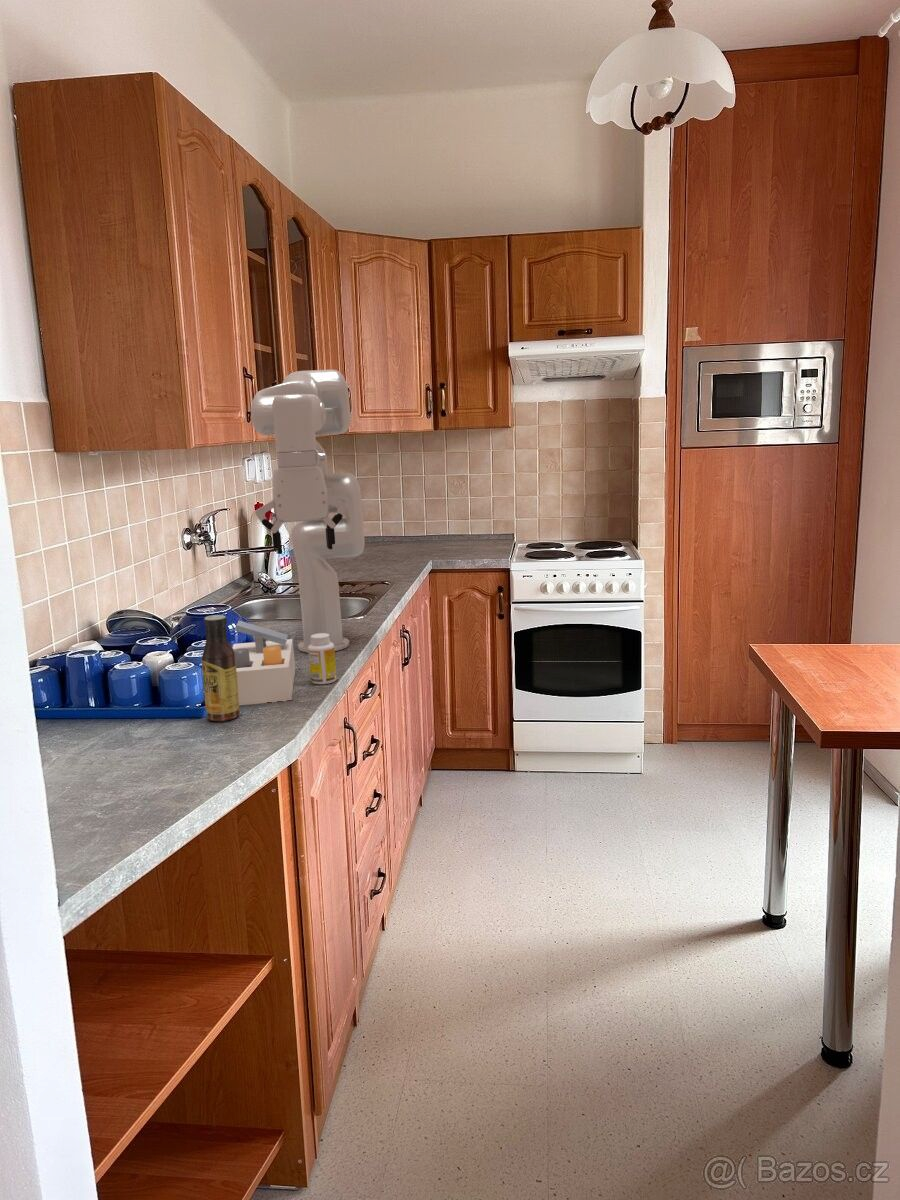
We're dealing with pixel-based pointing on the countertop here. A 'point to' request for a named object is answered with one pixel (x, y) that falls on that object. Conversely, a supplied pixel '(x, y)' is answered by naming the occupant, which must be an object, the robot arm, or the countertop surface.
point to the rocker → (261, 632)
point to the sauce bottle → (219, 672)
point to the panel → (265, 674)
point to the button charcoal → (242, 657)
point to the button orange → (272, 655)
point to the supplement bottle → (322, 659)
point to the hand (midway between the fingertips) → (304, 550)
